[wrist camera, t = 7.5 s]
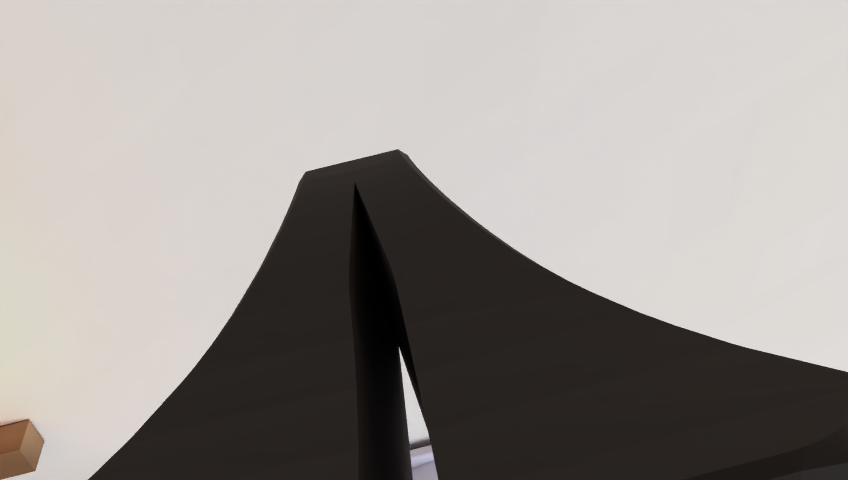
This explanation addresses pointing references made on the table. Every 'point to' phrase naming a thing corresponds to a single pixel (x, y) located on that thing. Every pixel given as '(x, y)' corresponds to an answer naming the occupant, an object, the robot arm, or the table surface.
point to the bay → (19, 449)
